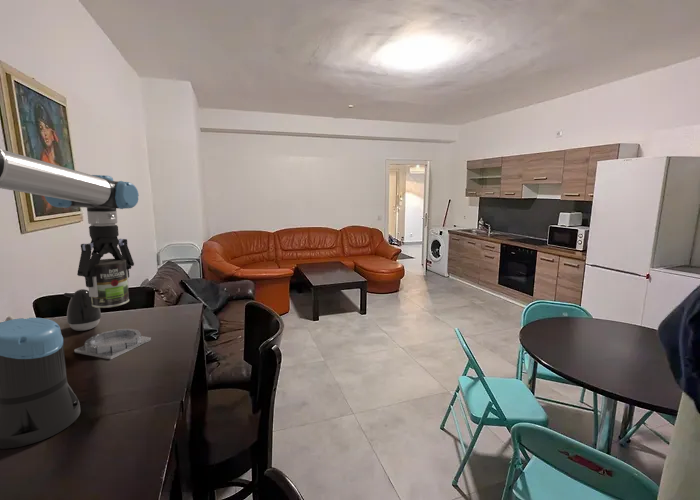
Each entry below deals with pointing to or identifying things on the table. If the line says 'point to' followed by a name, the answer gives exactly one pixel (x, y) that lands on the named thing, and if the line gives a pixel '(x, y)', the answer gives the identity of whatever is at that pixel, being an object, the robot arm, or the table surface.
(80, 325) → the pump dispenser
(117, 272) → the coffee can
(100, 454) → the table surface
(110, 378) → the table surface
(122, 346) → the duct collar
